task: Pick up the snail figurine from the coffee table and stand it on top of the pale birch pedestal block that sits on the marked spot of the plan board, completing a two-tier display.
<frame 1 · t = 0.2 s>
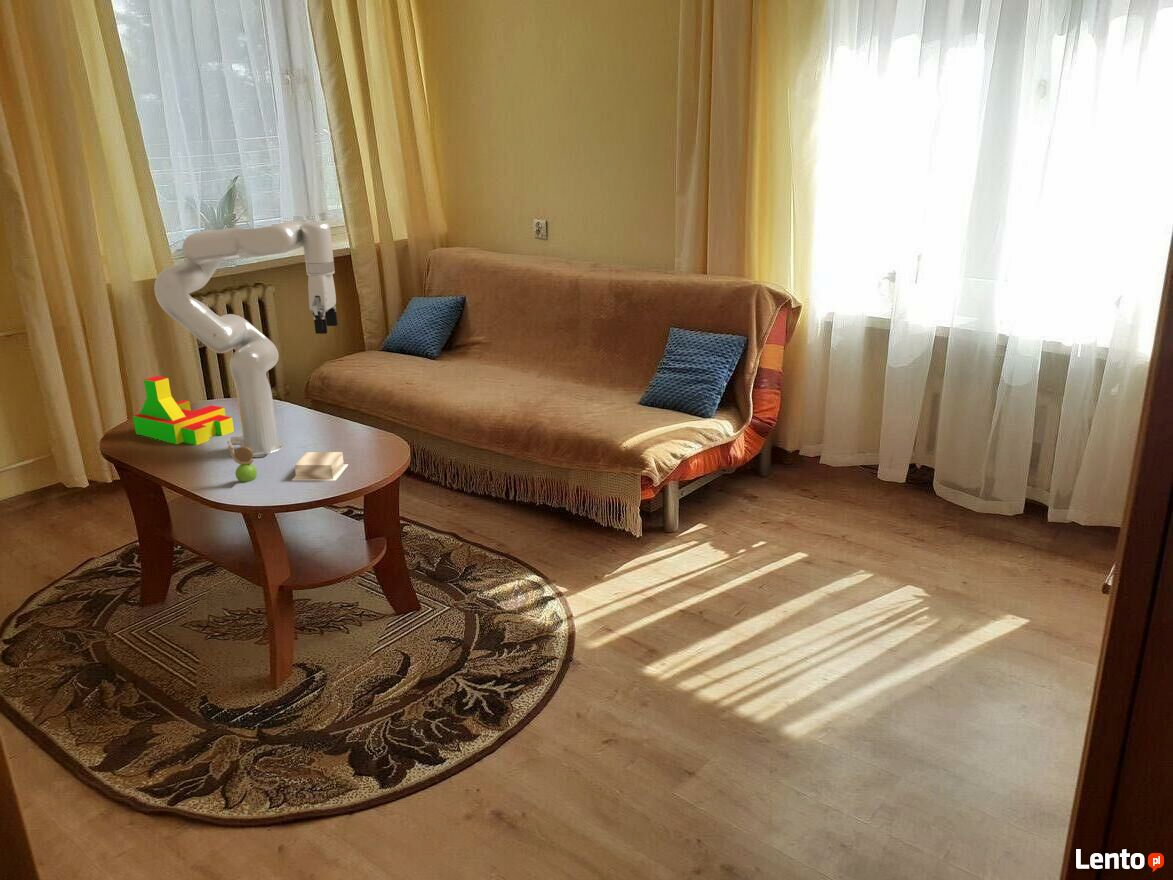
hand: (326, 329, 260), 36 cm above the table, tool pointing down, fingers open, 9 cm apart
building blocks toy: (188, 433, 291), on the table
pedestal block: (320, 472, 253), point 1 cm above the table, touching plan board
snail figurine: (245, 483, 250), on the table
plan board: (311, 474, 255), on the table
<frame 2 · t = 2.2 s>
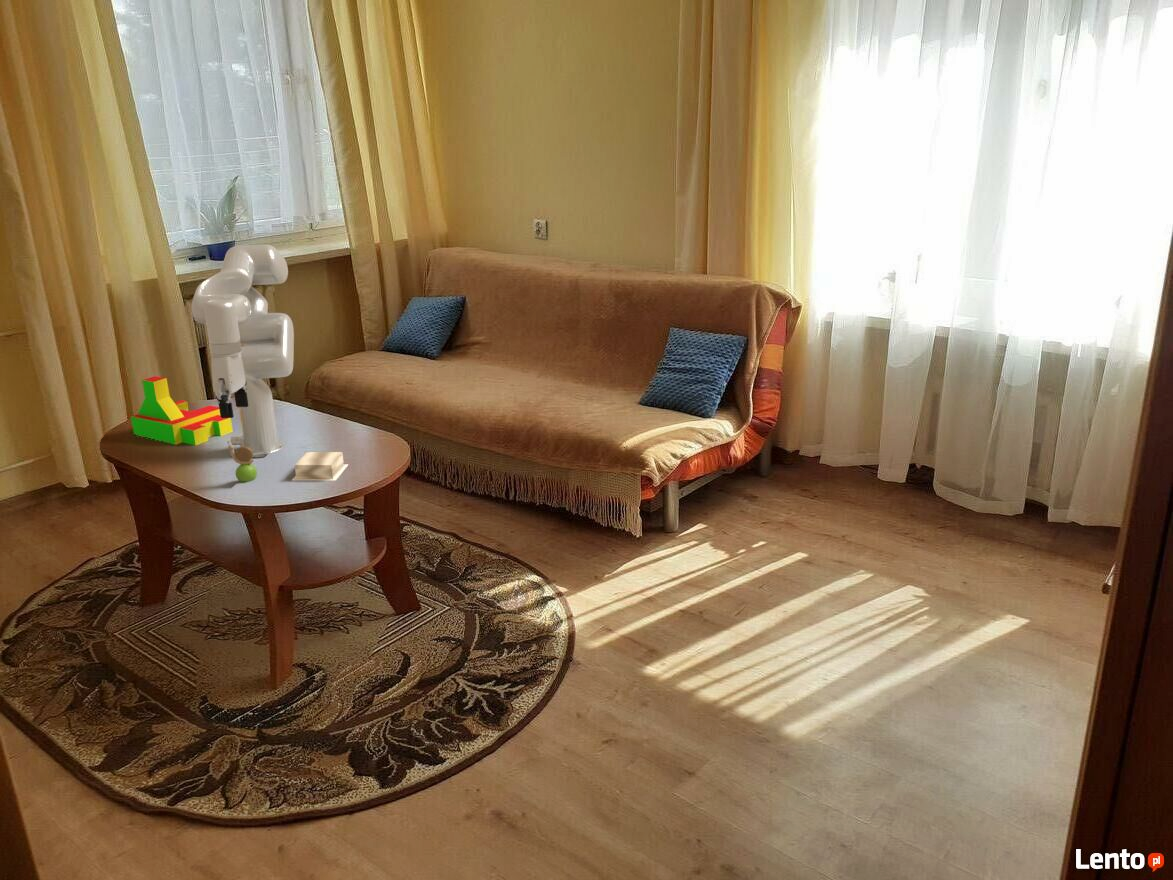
hand: (235, 412, 243), 20 cm above the table, tool pointing down, fingers open, 9 cm apart
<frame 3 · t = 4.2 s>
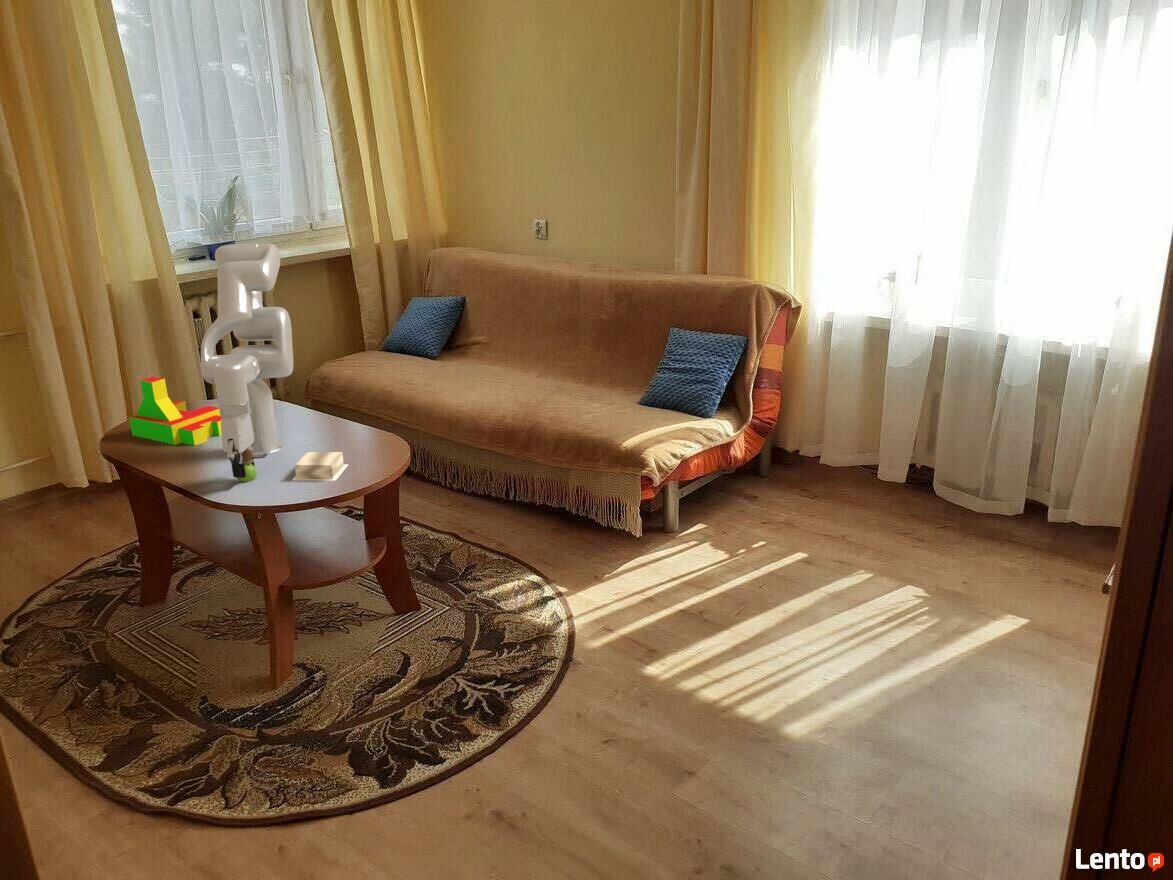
hand: (244, 472, 249), 3 cm above the table, tool pointing down, fingers closed on snail figurine, 5 cm apart
snail figurine: (245, 483, 250), on the table, touching gripper
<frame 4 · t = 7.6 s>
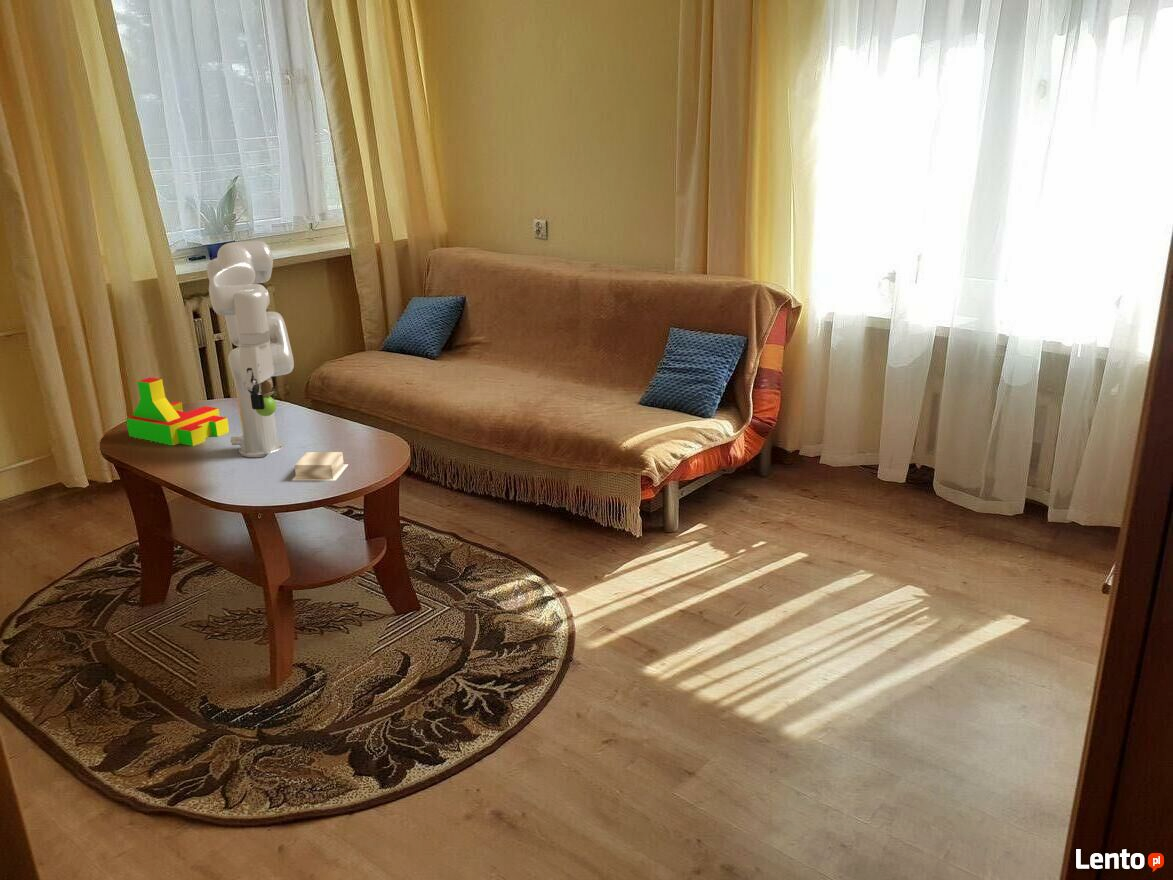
hand: (263, 404, 244), 21 cm above the table, tool pointing down, fingers closed on snail figurine, 5 cm apart
snail figurine: (264, 416, 245), point 18 cm above the table, touching gripper
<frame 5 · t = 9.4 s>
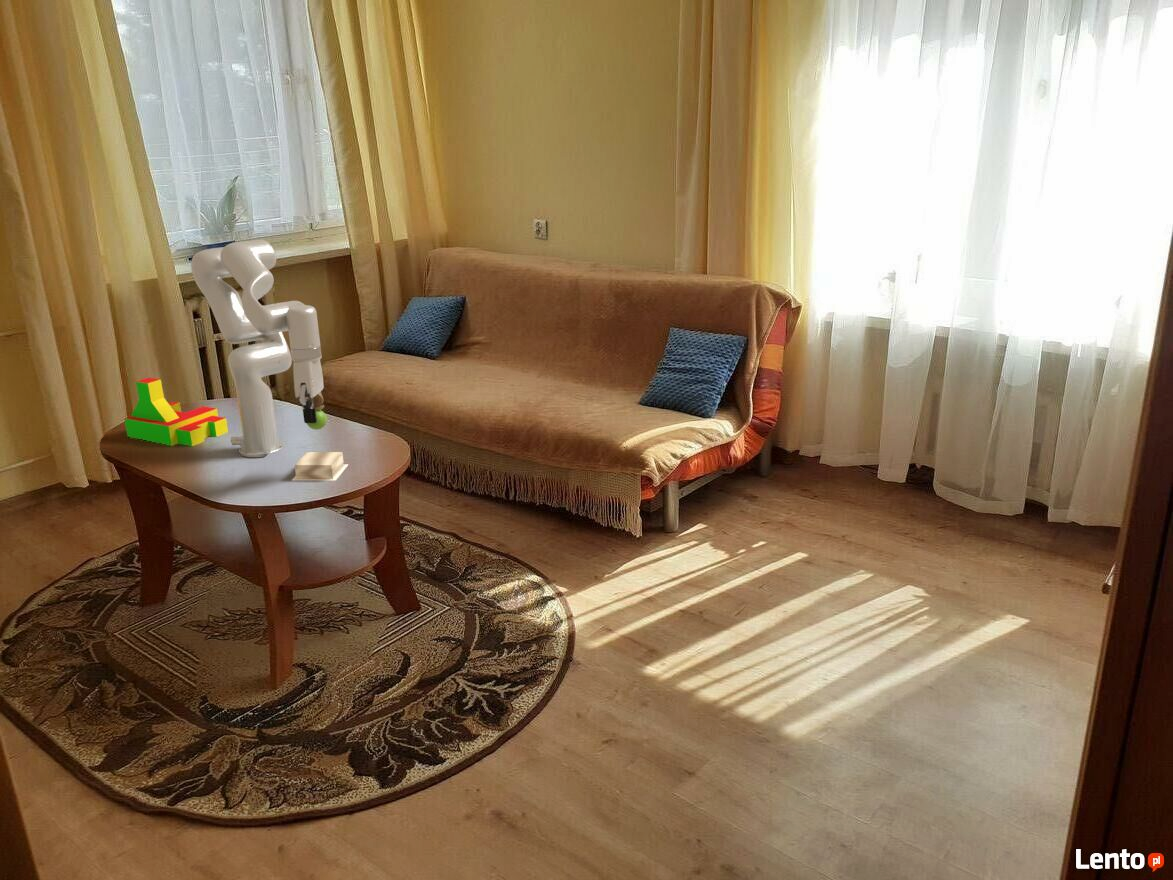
hand: (314, 418, 248), 17 cm above the table, tool pointing down, fingers closed on snail figurine, 5 cm apart
snail figurine: (315, 429, 249), point 13 cm above the table, touching gripper
when the fingers open (9 cm above the table, at t = 11.0 s): snail figurine drops 1 cm, resting on pedestal block.
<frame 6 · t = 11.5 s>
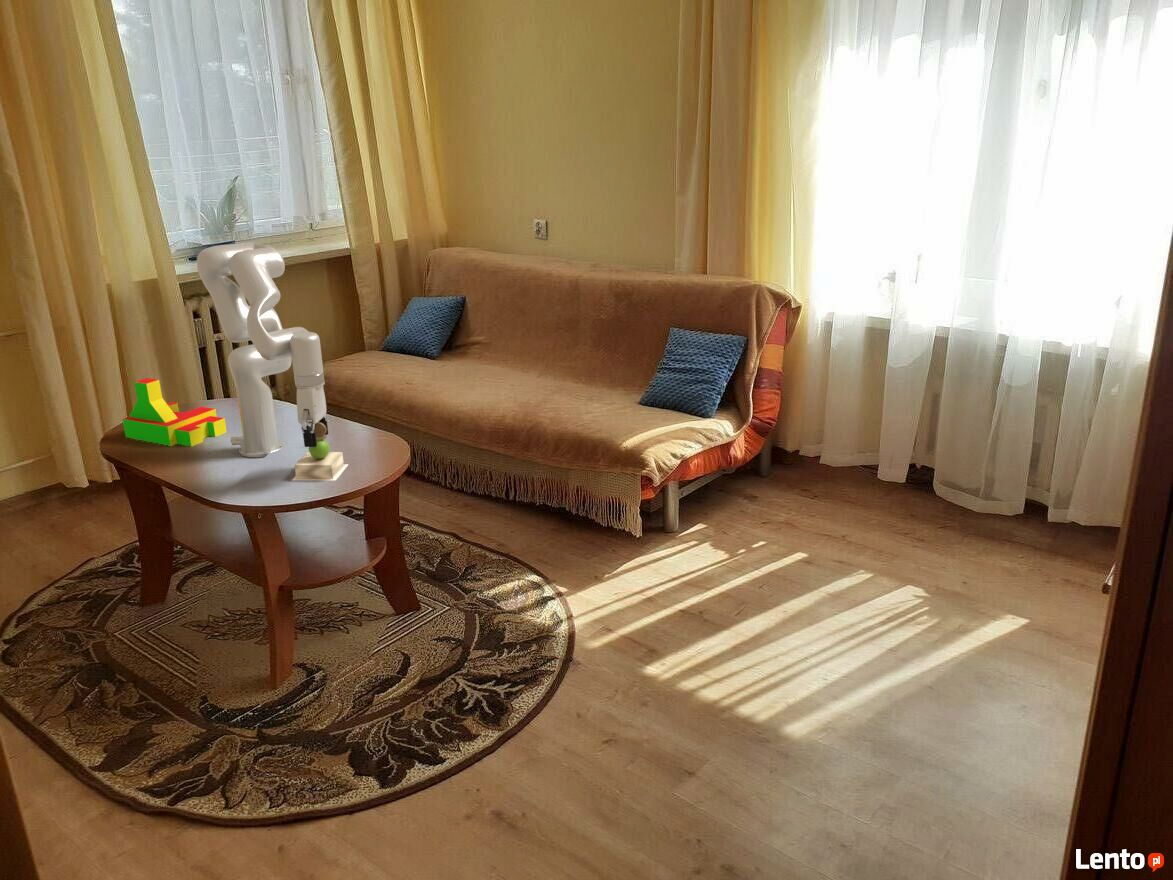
hand: (316, 440, 250), 10 cm above the table, tool pointing down, fingers open, 9 cm apart
pedestal block: (320, 472, 253), point 1 cm above the table, touching plan board, snail figurine
snail figurine: (318, 459, 252), point 5 cm above the table, touching pedestal block
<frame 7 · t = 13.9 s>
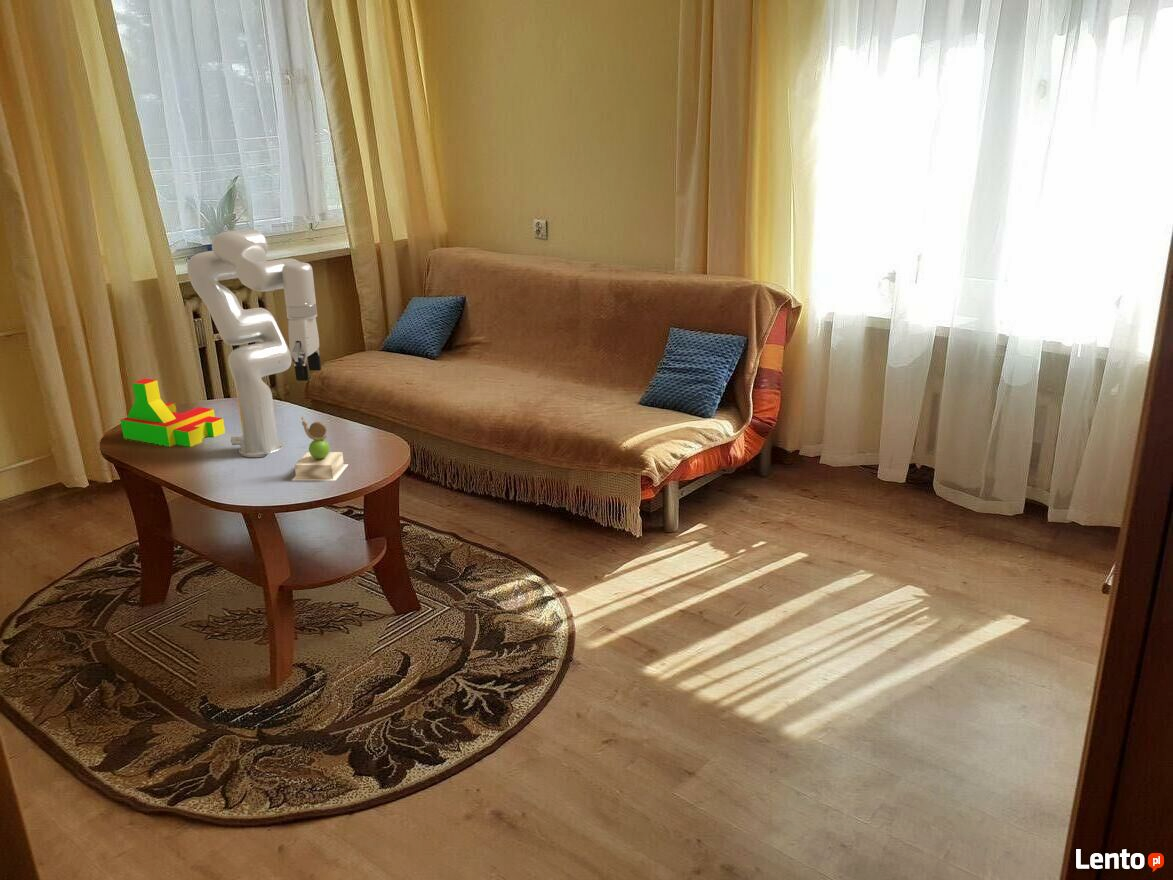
hand: (309, 375, 245), 28 cm above the table, tool pointing down, fingers open, 9 cm apart
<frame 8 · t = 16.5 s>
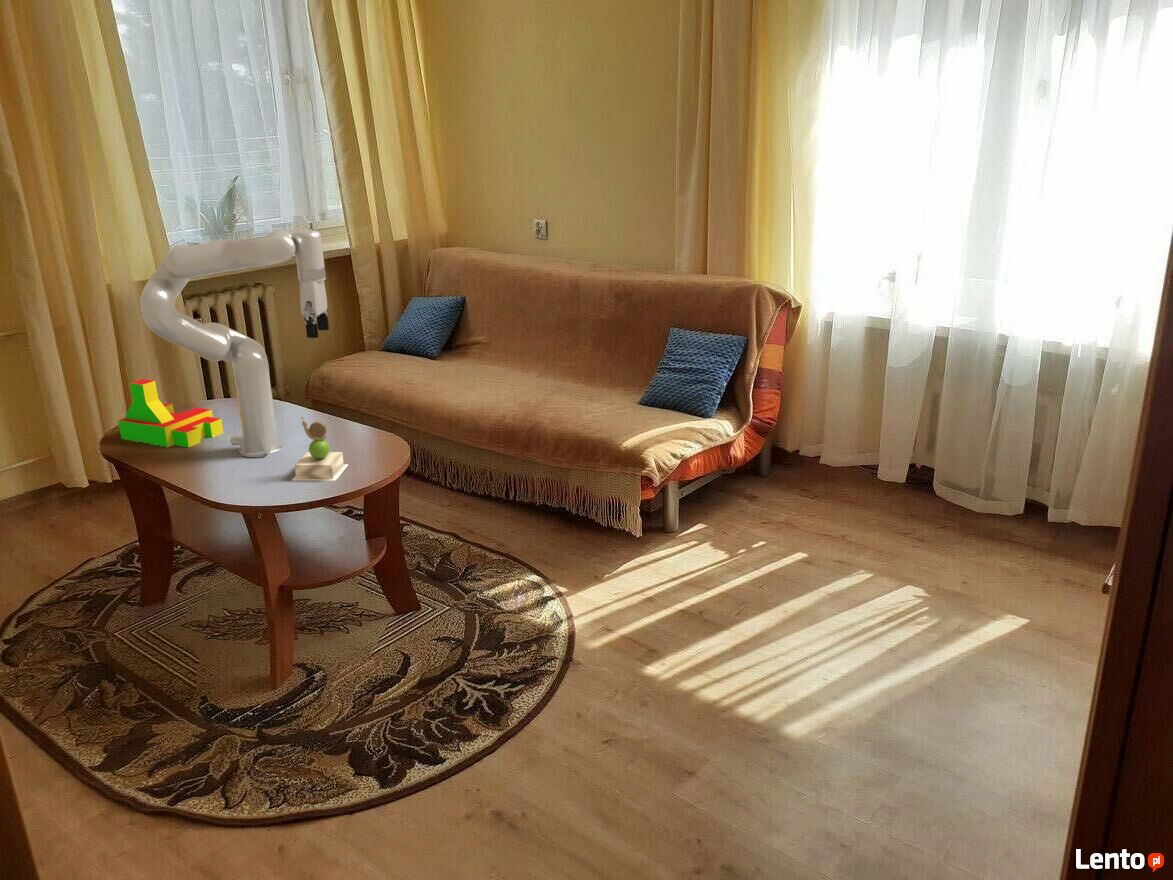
hand: (318, 333, 269), 33 cm above the table, tool pointing down, fingers open, 9 cm apart
at the end: snail figurine 0.1 cm off-centre on the pedestal block, point 3.8 cm above the pedestal block's base; snail figurine tilted 0°; the gripper is holding nothing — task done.
